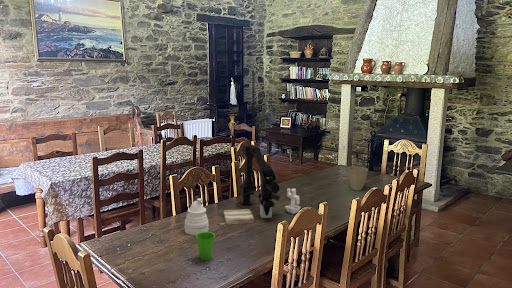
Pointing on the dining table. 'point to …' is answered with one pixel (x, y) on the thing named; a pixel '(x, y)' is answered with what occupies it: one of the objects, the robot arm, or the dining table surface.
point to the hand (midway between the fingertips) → (265, 213)
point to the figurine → (293, 201)
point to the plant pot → (357, 177)
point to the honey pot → (196, 219)
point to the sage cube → (264, 212)
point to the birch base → (238, 216)
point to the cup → (205, 244)
